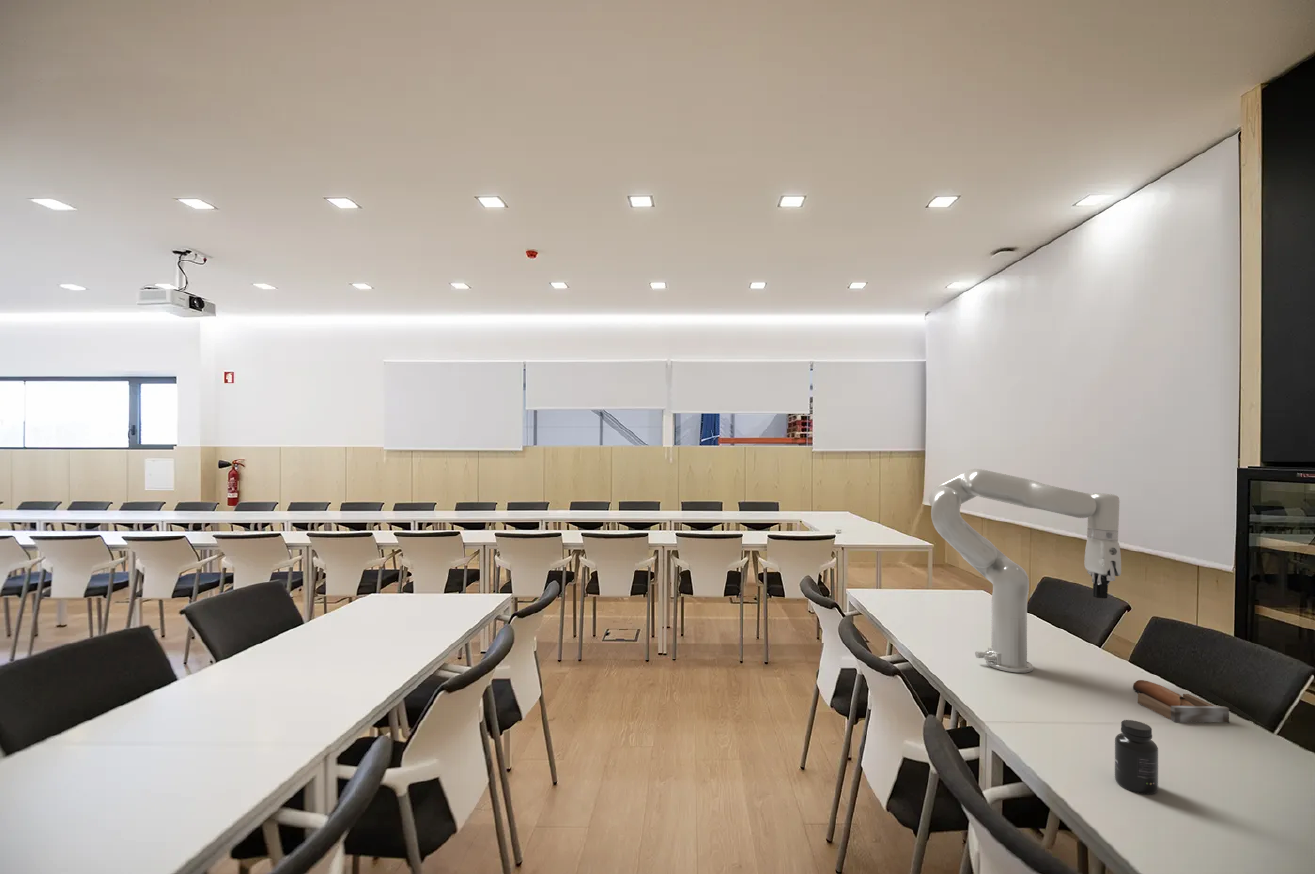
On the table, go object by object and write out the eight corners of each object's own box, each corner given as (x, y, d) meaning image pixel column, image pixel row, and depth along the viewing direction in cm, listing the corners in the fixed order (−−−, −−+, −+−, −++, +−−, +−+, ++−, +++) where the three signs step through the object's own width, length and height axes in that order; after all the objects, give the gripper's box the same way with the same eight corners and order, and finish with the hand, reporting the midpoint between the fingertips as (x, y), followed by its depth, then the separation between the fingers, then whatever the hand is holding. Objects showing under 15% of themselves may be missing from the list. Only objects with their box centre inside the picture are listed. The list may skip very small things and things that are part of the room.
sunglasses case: (1215, 719, 155) (1200, 695, 156) (1189, 732, 156) (1174, 708, 157) (1165, 691, 173) (1151, 670, 174) (1141, 703, 174) (1128, 682, 174)
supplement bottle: (1105, 777, 127) (1105, 717, 127) (1137, 776, 128) (1137, 716, 128) (1134, 796, 120) (1134, 732, 120) (1167, 795, 121) (1167, 731, 121)
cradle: (1174, 722, 154) (1174, 707, 154) (1137, 702, 166) (1137, 689, 166) (1229, 722, 154) (1228, 708, 154) (1188, 703, 166) (1188, 689, 166)
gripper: (1133, 539, 179) (1130, 604, 179) (1098, 532, 194) (1096, 592, 194) (1106, 538, 179) (1103, 603, 179) (1073, 531, 194) (1071, 590, 194)
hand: (1100, 597), depth 187 cm, fingers closed
